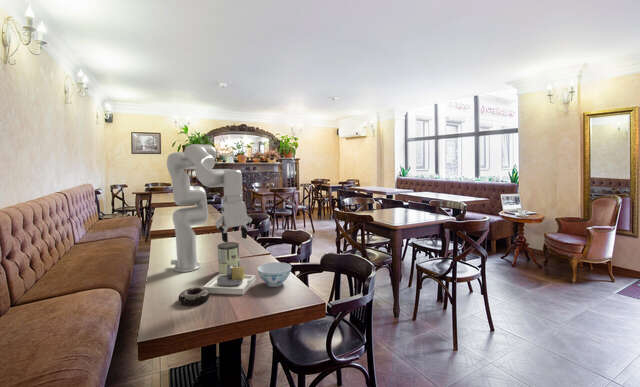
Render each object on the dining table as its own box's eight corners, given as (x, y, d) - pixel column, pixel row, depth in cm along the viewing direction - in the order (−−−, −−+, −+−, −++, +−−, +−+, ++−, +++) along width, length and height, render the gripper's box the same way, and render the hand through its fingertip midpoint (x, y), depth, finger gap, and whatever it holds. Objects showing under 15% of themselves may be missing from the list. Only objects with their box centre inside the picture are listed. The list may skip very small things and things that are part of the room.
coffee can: (226, 267, 170) (225, 241, 169) (243, 269, 167) (242, 242, 165) (214, 274, 161) (213, 246, 159) (232, 276, 157) (231, 248, 156)
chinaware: (254, 280, 151) (254, 264, 151) (285, 276, 157) (285, 260, 157) (262, 292, 138) (261, 275, 137) (296, 287, 144) (295, 270, 143)
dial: (212, 286, 140) (212, 270, 139) (223, 277, 151) (222, 262, 150) (239, 287, 139) (239, 271, 138) (248, 278, 149) (248, 263, 149)
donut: (187, 294, 137) (187, 285, 137) (214, 295, 136) (214, 286, 136) (172, 306, 126) (172, 296, 125) (201, 307, 124) (201, 297, 124)
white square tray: (202, 292, 138) (202, 286, 138) (218, 279, 154) (218, 273, 154) (243, 294, 136) (243, 287, 136) (255, 280, 152) (255, 274, 151)
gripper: (218, 202, 128) (219, 245, 130) (256, 198, 140) (257, 237, 142) (209, 200, 134) (211, 241, 136) (247, 196, 146) (248, 235, 147)
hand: (234, 239), depth 139 cm, fingers open, 8 cm apart
